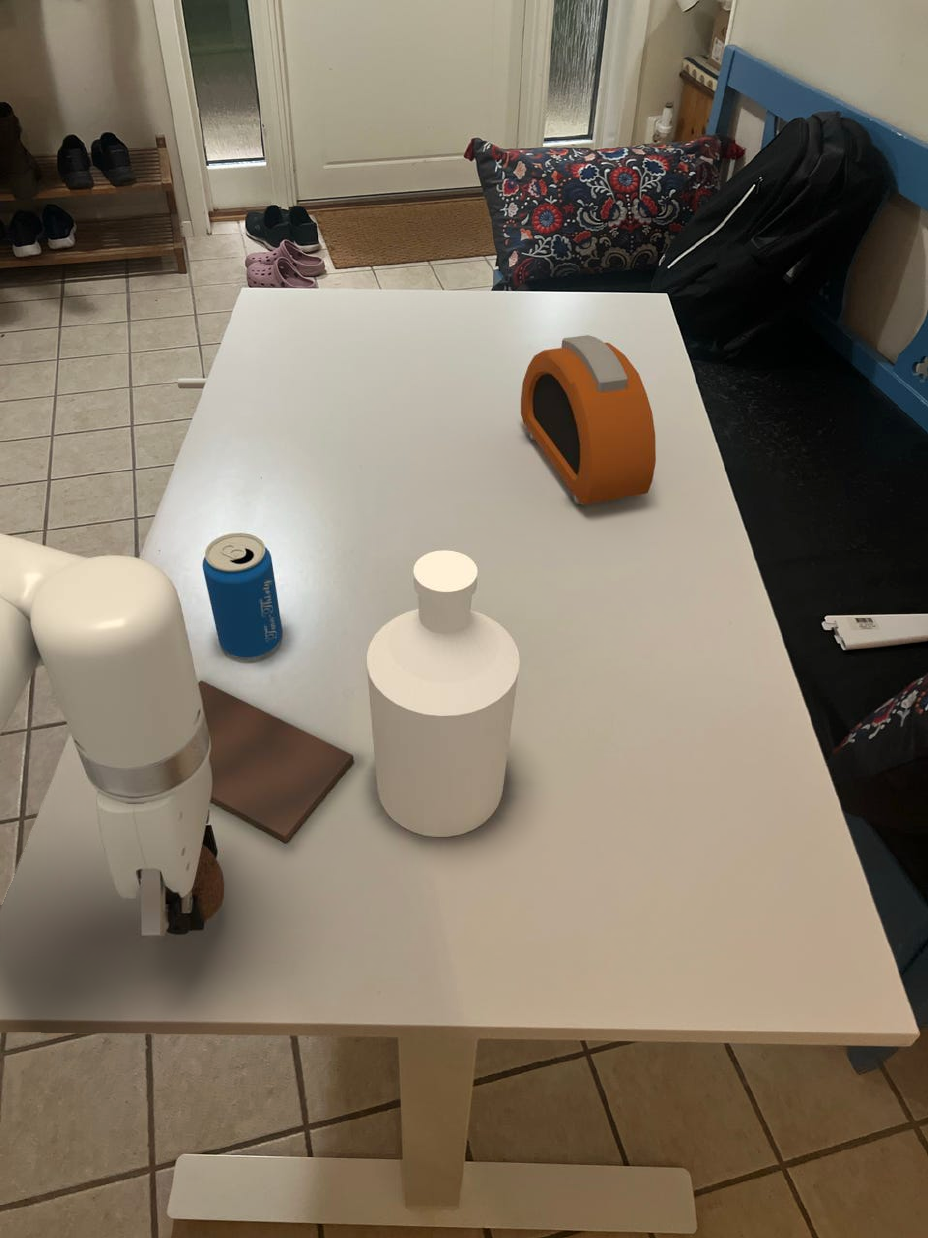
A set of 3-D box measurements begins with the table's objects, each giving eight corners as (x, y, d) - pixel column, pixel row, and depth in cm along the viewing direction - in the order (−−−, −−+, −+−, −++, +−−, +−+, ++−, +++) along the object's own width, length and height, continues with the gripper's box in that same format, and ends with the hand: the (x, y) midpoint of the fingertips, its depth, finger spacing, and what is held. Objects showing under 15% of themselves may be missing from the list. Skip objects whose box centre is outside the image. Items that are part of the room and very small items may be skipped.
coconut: (242, 912, 69) (229, 856, 63) (182, 954, 66) (164, 898, 61) (207, 866, 71) (191, 809, 66) (148, 904, 69) (127, 847, 63)
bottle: (427, 712, 86) (428, 501, 69) (530, 771, 81) (560, 560, 64) (346, 794, 79) (326, 581, 62) (455, 864, 74) (466, 654, 57)
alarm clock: (516, 425, 125) (525, 310, 114) (574, 416, 127) (589, 303, 116) (583, 521, 109) (602, 400, 98) (649, 510, 111) (674, 389, 100)
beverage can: (254, 672, 89) (237, 581, 81) (206, 647, 91) (185, 556, 83) (296, 634, 93) (283, 545, 85) (249, 611, 95) (232, 522, 87)
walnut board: (128, 756, 81) (125, 749, 80) (202, 686, 87) (201, 679, 87) (286, 843, 75) (285, 837, 74) (354, 761, 81) (353, 755, 81)
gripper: (115, 639, 60) (162, 797, 73) (39, 862, 48) (111, 1006, 60) (227, 640, 61) (254, 797, 73) (181, 861, 48) (223, 1003, 61)
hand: (189, 890), depth 67 cm, fingers closed on coconut, 5 cm apart
